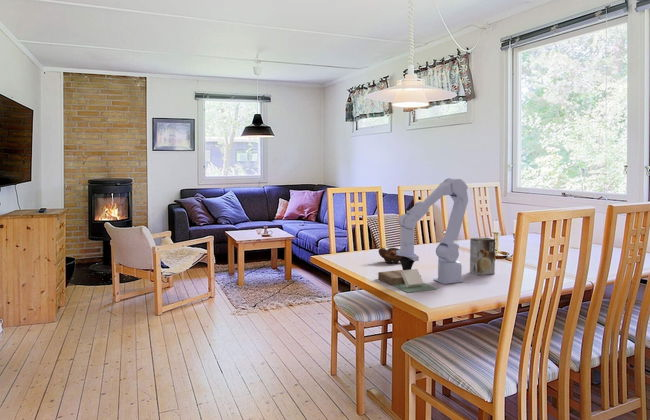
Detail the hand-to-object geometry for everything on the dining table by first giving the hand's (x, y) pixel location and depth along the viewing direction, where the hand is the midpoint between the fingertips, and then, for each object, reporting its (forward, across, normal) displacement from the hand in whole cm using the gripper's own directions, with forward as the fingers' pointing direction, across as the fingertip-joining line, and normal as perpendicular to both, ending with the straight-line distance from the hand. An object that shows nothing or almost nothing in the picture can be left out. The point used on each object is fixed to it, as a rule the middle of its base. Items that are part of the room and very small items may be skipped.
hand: (406, 274), depth 196 cm
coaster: (+1, +3, 0) cm, 4 cm away
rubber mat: (+4, +6, 0) cm, 7 cm away
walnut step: (+4, -6, 0) cm, 7 cm away
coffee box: (+4, -3, +42) cm, 42 cm away
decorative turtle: (+4, -39, +16) cm, 43 cm away
